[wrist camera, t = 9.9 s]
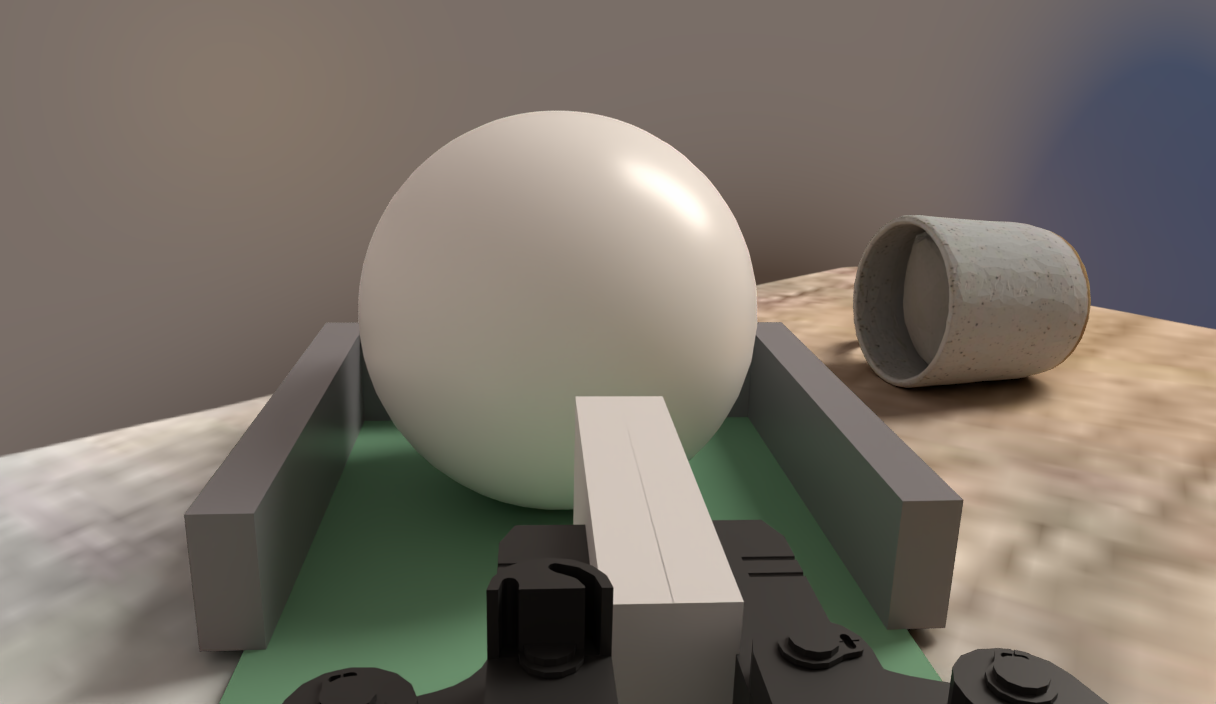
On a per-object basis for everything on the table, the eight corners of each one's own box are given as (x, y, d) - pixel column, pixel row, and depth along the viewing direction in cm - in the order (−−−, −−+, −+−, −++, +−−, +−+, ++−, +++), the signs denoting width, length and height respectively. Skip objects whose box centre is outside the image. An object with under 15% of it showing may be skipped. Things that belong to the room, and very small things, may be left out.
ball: (849, 310, 22) (756, 570, 30) (744, 29, 29) (695, 302, 38) (302, 329, 20) (373, 595, 29) (346, 30, 28) (391, 312, 37)
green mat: (746, 404, 40) (747, 398, 40) (1464, 1469, 10) (1472, 1449, 10) (360, 408, 39) (360, 401, 39) (-220, 1677, 8) (-227, 1658, 8)
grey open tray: (774, 404, 40) (781, 322, 39) (945, 627, 24) (963, 499, 23) (331, 407, 38) (326, 322, 37) (199, 651, 22) (184, 514, 21)
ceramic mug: (1091, 394, 43) (1119, 223, 41) (938, 410, 40) (959, 228, 38) (941, 336, 52) (957, 196, 50) (809, 346, 50) (821, 199, 48)
